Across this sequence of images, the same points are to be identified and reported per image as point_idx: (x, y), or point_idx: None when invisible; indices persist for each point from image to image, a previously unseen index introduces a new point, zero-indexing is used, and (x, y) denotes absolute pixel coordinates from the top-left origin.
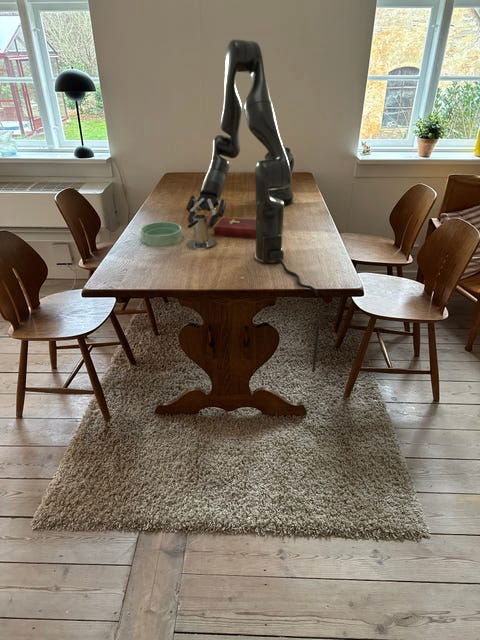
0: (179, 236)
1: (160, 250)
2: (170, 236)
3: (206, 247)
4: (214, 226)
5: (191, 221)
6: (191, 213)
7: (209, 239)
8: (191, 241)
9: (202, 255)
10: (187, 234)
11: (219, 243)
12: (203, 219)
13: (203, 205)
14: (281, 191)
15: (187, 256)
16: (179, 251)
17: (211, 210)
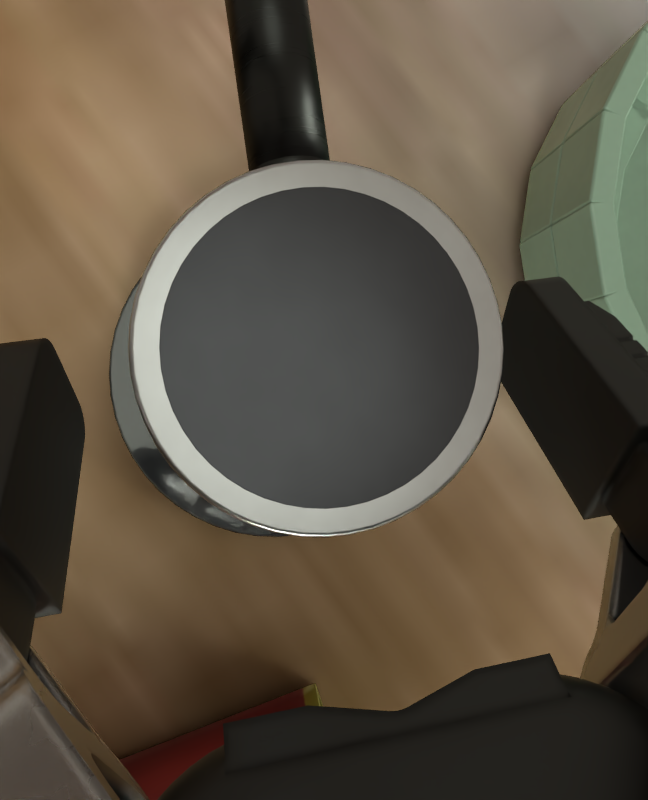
0: (555, 274)
1: (554, 9)
2: (600, 97)
3: (135, 286)
4: None
5: (514, 342)
6: (645, 397)
7: None
8: None
9: (66, 108)
10: (596, 536)
11: (107, 517)
12: (147, 272)
13: (496, 784)
14: None
15: (201, 5)
16: (366, 81)
17: (15, 671)
